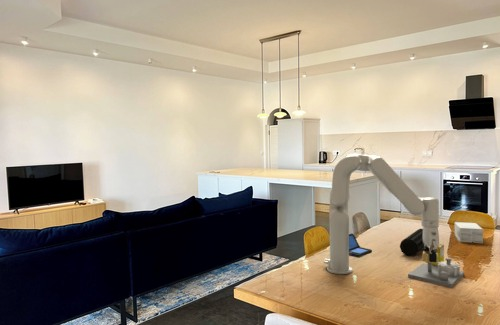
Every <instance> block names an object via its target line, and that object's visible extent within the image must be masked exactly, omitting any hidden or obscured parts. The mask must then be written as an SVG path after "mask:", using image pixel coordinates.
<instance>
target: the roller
mask: <svg viewBox="0 0 500 325" xmlns="http://www.w3.org/2000/svg"><path fill="white" fill-rule="evenodd" d="M400 241H401V242H400V244H399V248H400V252H402V253H403V255H405V256H407V257H408V256H409V257H414V256H415V255H418V253H420V251H421V250H424V243H423V228H419V229H417V230H415V231H413V233H411V234H409V235H408V236H406V237H405V238H404V239H402V240H400Z"/></svg>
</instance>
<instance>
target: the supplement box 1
mask: <svg viewBox="0 0 500 325" xmlns="http://www.w3.org/2000/svg"><path fill="white" fill-rule="evenodd" d="M431 247H433V246H431ZM431 251H432V249H431ZM437 253H438V262H441V261H443V262H445V244H443V243H439V248H437ZM432 265H433V266H438V263H434V264H433V263H432Z"/></svg>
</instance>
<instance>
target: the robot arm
mask: <svg viewBox="0 0 500 325" xmlns="http://www.w3.org/2000/svg"><path fill="white" fill-rule="evenodd" d="M357 171H361V172H369V173H370V172H371V173H372V175H373V176H374V177H375V178H376V179H377V180H378V181H379V182H380V184H382V186H383V187H384V188H385V189H386V190H387V191H388V192H389V193H390V194H392V195H393V197H394V198H396V199H397V200H398V201H399V202H400V203H401V204H402V205H403V208H404V209H405V210H406V211H407V212H409V213H410V214H411V215H413V216H419V215H421V227H422V229H423V243H424V248H423V251H425V252H426V251H430V253H429V262H437V248H439V244H440V234H439V229H438V228H439V226H440V220H439V219H440V217H439V216H440V213H439V212H440V211H439V207H440V204H439V199H438V198H436V197H432V196H430V197H429V196H425V197H419V196H418V195H417V194H416V193H415V192H414V191H413V190H412V189H411V188H410V187H409V186H408V185H407V183H406V182H405V181H404V179H402V178H401V176H400V175H398V173H397V172H395V170H394V169H393V168H392V167H391V165H389V163H388V162H386V160H385V159H384V158H382V157H381V156H378V155H367V154H359V153H348V154H346V156H344V157H343V158H341V159H340V160H339V161H338V162H337V164H336V165H335V167H334V169H333V172H332V180H331V190H330V195H329V214H328V215H329V216H328V218H329V221H328V222H329V224H328V225H329V258H324V260H323V264H326V265H327V266H326V270H327V272H329V273H331V274H336V275H347V274H351V273H352V272H353V268H352V267H351V266H350V255H349V234H350V218H349V217H350V216H349V214H348V213H349V212H348V211H349V201H350V182H351V176H352V174H353V173H354V172H357ZM431 246H433V247H431ZM431 249H432V251H431Z"/></svg>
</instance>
